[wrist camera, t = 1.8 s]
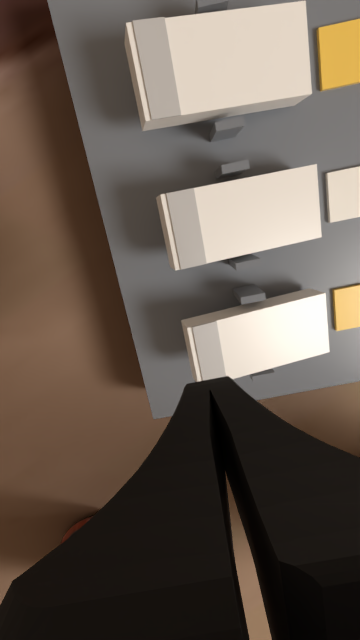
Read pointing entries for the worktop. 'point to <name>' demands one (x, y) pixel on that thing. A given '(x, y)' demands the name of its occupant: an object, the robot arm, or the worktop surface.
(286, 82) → the rocker
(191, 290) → the switch box
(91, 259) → the worktop surface
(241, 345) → the rocker
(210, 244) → the rocker
